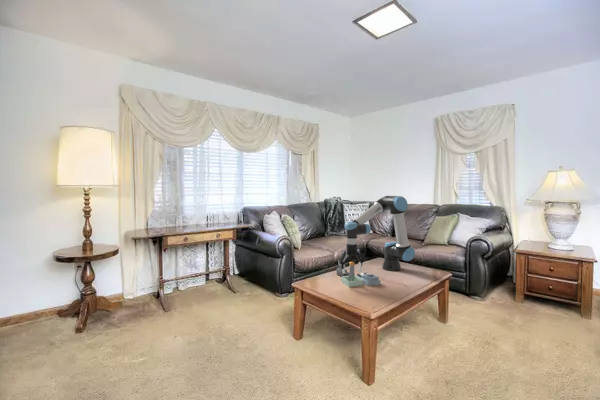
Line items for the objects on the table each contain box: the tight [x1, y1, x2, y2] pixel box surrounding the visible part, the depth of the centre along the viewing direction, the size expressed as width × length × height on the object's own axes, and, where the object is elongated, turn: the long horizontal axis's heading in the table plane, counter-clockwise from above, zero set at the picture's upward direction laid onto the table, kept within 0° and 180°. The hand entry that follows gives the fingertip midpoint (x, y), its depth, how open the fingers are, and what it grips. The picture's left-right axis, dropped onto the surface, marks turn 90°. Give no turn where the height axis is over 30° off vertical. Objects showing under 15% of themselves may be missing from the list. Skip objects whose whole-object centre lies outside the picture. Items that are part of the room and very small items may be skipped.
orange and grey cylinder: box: [349, 261, 355, 281], centre depth 214 cm, size 4×4×15 cm
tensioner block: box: [356, 272, 381, 287], centre depth 219 cm, size 17×11×6 cm, turn 19°
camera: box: [336, 259, 356, 277], centre depth 232 cm, size 9×12×15 cm
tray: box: [340, 274, 364, 288], centre depth 215 cm, size 12×12×4 cm
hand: (351, 272), depth 214 cm, fingers open, 13 cm apart
